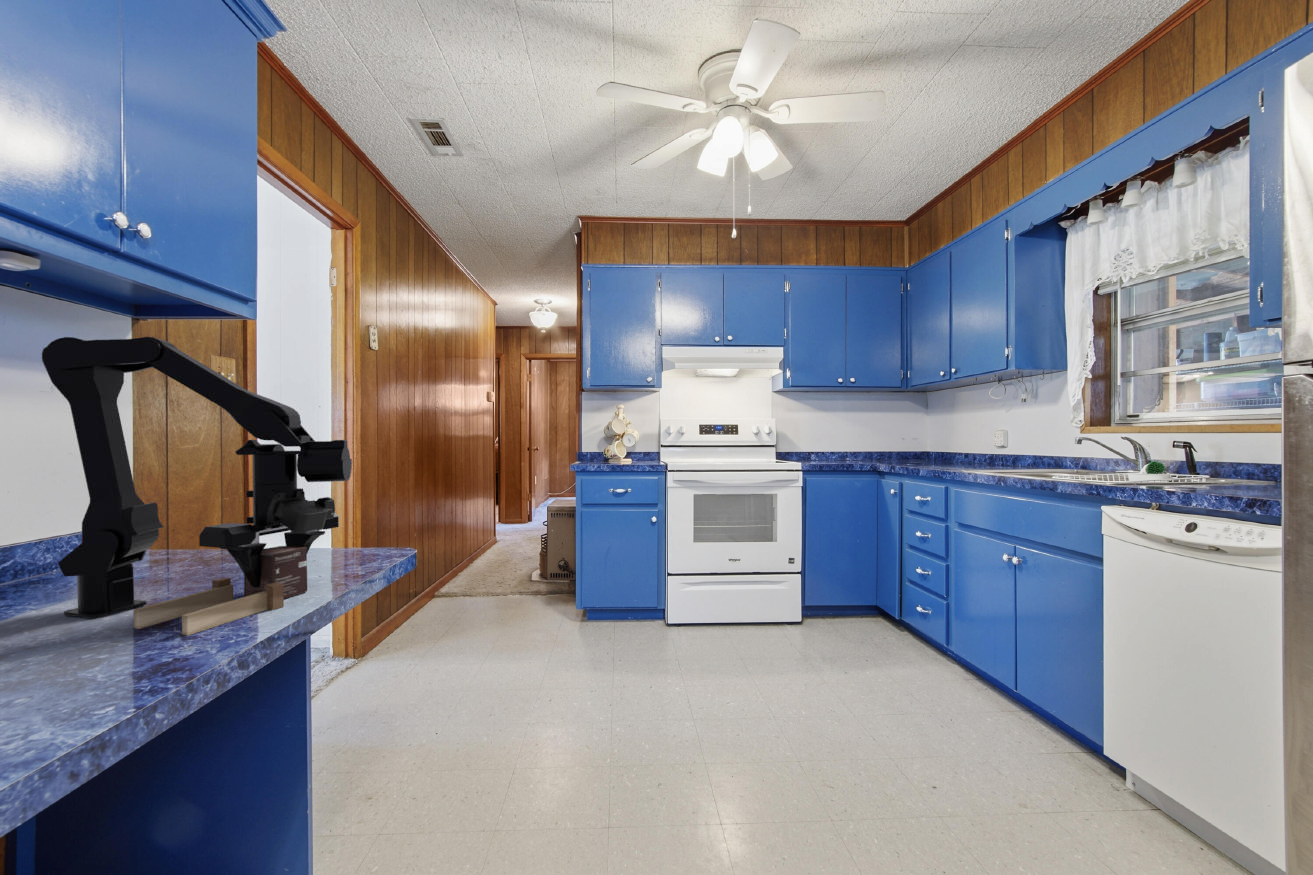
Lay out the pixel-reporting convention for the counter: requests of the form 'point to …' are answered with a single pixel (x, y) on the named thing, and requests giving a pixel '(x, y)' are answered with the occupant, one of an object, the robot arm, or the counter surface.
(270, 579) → the box
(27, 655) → the counter surface
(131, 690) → the counter surface
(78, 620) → the counter surface
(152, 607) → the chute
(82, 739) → the counter surface
